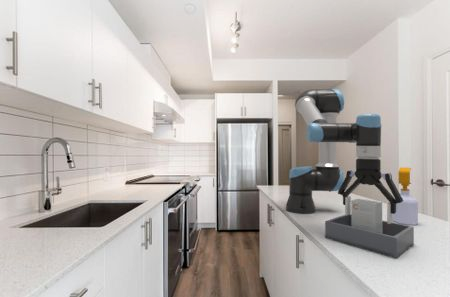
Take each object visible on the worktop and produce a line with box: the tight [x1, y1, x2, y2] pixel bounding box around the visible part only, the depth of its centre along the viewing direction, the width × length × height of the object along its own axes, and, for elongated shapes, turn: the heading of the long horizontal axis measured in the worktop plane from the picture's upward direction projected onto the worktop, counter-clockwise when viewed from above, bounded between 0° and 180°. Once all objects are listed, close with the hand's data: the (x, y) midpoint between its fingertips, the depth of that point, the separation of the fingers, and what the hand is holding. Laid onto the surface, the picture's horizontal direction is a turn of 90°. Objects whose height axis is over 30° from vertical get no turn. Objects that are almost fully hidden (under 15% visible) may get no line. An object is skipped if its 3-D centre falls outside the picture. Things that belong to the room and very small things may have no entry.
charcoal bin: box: [324, 214, 415, 259], centre depth 86 cm, size 22×18×6 cm
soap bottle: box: [393, 166, 419, 226], centre depth 110 cm, size 9×9×25 cm
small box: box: [351, 198, 383, 234], centre depth 86 cm, size 8×6×13 cm
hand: (367, 218), depth 86 cm, fingers open, 13 cm apart
